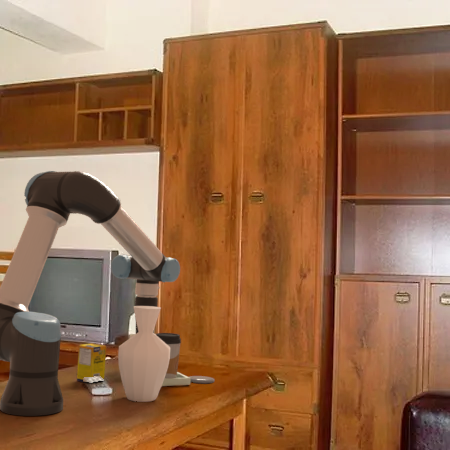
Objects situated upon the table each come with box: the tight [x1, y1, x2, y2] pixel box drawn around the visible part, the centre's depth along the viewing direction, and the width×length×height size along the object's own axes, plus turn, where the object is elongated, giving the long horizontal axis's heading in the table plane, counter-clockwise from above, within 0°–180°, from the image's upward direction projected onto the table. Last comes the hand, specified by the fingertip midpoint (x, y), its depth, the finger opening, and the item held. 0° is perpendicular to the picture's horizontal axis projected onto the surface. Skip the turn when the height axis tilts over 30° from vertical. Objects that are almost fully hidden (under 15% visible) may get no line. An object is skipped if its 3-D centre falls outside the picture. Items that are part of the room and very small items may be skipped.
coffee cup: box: [155, 332, 182, 378], centre depth 213 cm, size 8×8×15 cm
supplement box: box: [76, 343, 107, 383], centre depth 210 cm, size 6×6×11 cm
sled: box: [129, 333, 191, 387], centre depth 220 cm, size 13×25×12 cm, turn 28°
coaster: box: [188, 375, 215, 385], centre depth 220 cm, size 9×9×1 cm
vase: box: [117, 305, 170, 403], centre depth 192 cm, size 14×14×25 cm
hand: (142, 367), depth 230 cm, fingers closed on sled, 2 cm apart
